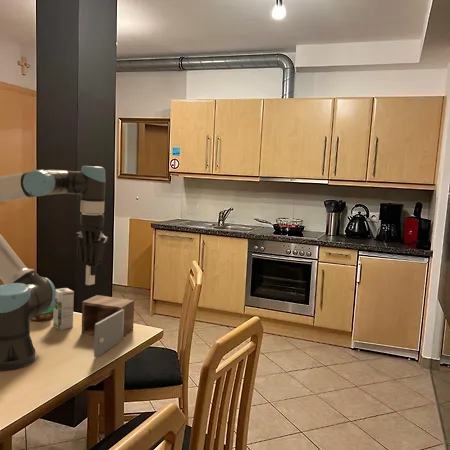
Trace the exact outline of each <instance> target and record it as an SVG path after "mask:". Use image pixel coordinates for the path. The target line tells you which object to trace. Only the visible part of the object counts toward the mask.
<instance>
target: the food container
mask: <svg viewBox="0 0 450 450" xmlns="http://www.w3.org/2000/svg"><path fill="white" fill-rule="evenodd" d="M53 312H54V302H53V304H52V305H51V306H50V307H49V308H48V309H47V310H45V311H44V312H42V313H40V314H38V315H36V316H35V317H33V318H31V319H30V322H33V323H43V322H49V321H51V320H53Z"/></svg>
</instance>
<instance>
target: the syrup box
mask: <svg viewBox="0 0 450 450" xmlns="http://www.w3.org/2000/svg"><path fill="white" fill-rule="evenodd" d="M55 290H56V296H55V300H54V312H53V319H52V320H53V322H52V325H53V327H54V328H56V329H57V330H58V331H61V330H62V331H63V330H65V329H71V328H74V326H73V325H74V302H75V301H74V297H75V291H74V290H72V289H70V288H68V287H62V288H61V287H60V288H55Z"/></svg>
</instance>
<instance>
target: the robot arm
mask: <svg viewBox="0 0 450 450" xmlns="http://www.w3.org/2000/svg"><path fill="white" fill-rule="evenodd" d="M106 181H107V180H106V169H105V168H104V167H103V166H96V165H95V166H91V165H82V166H81V170H79V171H77V170H76V171H74V170H66V169H65V170H64V169H35V170H30V171H28V172H20V173H16V174H14V173H13V174H8V175H1V176H0V203H1V202H8V201H9V202H10V201H13V200H21V199H28V198H37V197H45V196H51V195H61V194H63V195H65V194H67V195H80V207H79V208H80V209H79V210H80V211H79V212H80V213H81V214H80V216H79V224H80V226H81V228H80V231H78V232H75V233H74V236H75V239H76V241H77V242H76V243H77V249H78V257H79V262H81V263H83V265H84V274H85V283H84V284H85V285H86V286H92V285H96V275H97V266H99V265H102V263H103V260H104V255H105V250H106V246H107V243H108V241H109V238H110V237H109V236H105V234H104V230H103V226H104V224H105V215H104V213H105V200H106V199H105V197H106V183H107V182H106ZM0 280H1V281H2V283H3V284H1V285H0V371H11V370H16V369H20V368H23V367H27V366H28V365H31V364H32V363H33V362H34V361H35V360H36V355H37V354H36V348H35V347H34V343H33V341H32V337H31V334H30V332H31V331H30V329H31V328H30V327H31V324H30V323H31V321H30V319H31V318H33V317H35V316H36V315H38V314H40V313H42V312H44V311H45V310H47V309H48V308H49V307H50V306H51V305H52V304H53V302H54V300H55V296H56V290H55V289H56V287H55V285H54V284H55V283H53V282H52V281H51V280H50V279H49V278H48V277H44V276H40V275H39V274H38V273H37V271H36V270H35V269H33V268H28V267H27V266H26V265H25V264H24V262H23V261H22V260H21V259H20V257H19V256H18V254H17V253H16V252H15V251H14V250H13V248H12V246H11V245H9V243H8V242H7V240H6V239H5V238H4V237H3V235H2V234H1V233H0Z"/></svg>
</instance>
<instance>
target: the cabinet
mask: <svg viewBox="0 0 450 450" xmlns="http://www.w3.org/2000/svg"><path fill="white" fill-rule="evenodd" d="M81 303H82V304H81V334H83V335H84V334H85V335H91V336H95V324H96V323H98V322H100V321H101V320H103V319H105V318H107V317H109V316H111V315H112V314H114V313H116V312H118V311H120V310H121V309H124V329H123V339H124V338H125V337H127V336H128V335H129V334H131V333H133V331H134V319H135V318H134V317H135V316H134V315H135V313H134V312H135V300H134V299H133V300H132V299H128V298H127V299H126V298H118V297H114V296H107V295H99V294H95V296H94V295H93V296H92V297H89V298H88V299H85V300H82V302H81Z"/></svg>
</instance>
